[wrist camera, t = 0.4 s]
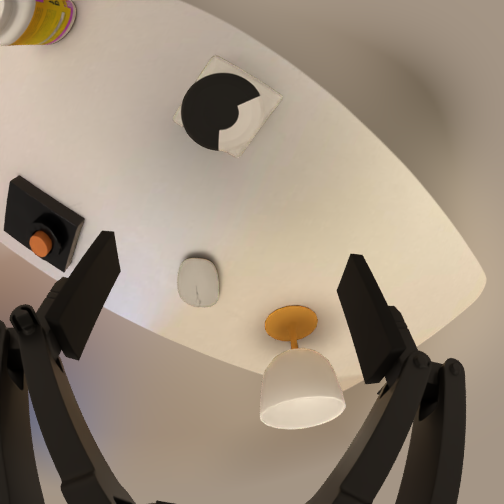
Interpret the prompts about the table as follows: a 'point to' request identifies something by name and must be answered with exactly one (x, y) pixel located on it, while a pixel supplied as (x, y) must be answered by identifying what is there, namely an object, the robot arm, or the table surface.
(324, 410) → the cup
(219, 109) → the medicine bottle
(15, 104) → the table surface
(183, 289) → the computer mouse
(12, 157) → the table surface
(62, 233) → the machine
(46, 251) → the button
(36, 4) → the supplement bottle
